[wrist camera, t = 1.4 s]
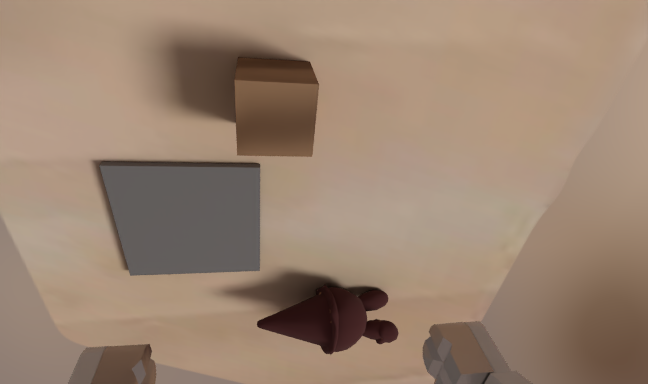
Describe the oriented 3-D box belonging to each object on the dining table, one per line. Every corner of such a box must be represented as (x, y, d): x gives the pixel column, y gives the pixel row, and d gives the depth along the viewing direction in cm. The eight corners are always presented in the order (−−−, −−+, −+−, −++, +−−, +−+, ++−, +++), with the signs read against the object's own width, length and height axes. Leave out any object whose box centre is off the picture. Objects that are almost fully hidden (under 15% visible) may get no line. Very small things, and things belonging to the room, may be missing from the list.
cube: (238, 57, 25) (234, 80, 21) (309, 61, 26) (319, 84, 22) (240, 123, 28) (237, 155, 24) (304, 125, 29) (312, 156, 25)
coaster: (101, 161, 28) (99, 165, 28) (259, 163, 30) (259, 167, 30) (132, 270, 35) (130, 275, 34) (259, 266, 37) (259, 270, 36)
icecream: (254, 373, 37) (389, 357, 41) (264, 348, 31) (417, 333, 36) (251, 306, 41) (373, 298, 45) (259, 275, 36) (396, 269, 40)
